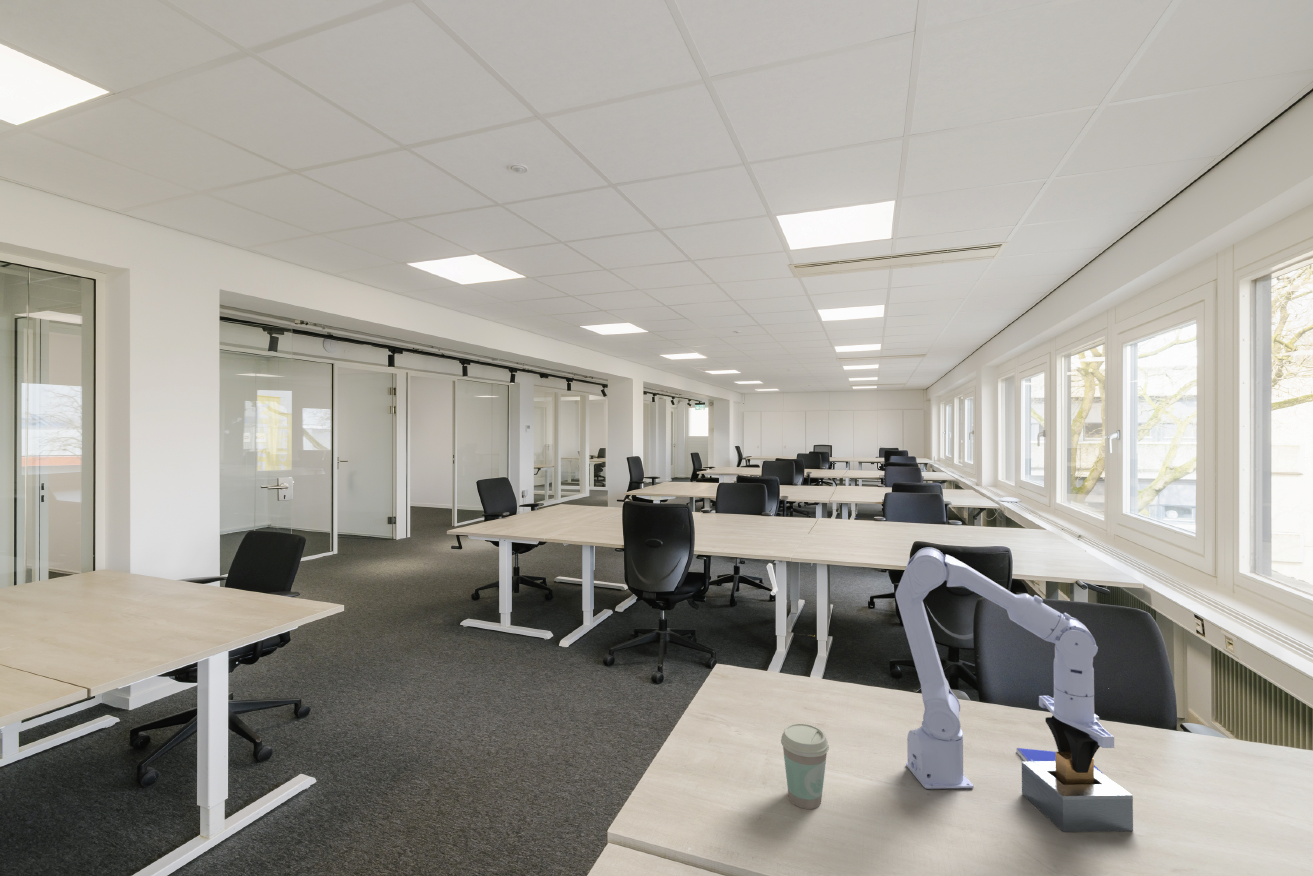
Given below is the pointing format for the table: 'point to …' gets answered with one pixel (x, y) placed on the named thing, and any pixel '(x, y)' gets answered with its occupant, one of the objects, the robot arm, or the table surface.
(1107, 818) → the grey block with slot
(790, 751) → the coffee cup
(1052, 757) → the hard drive
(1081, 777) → the orange rectangular block
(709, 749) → the table surface
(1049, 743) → the table surface
